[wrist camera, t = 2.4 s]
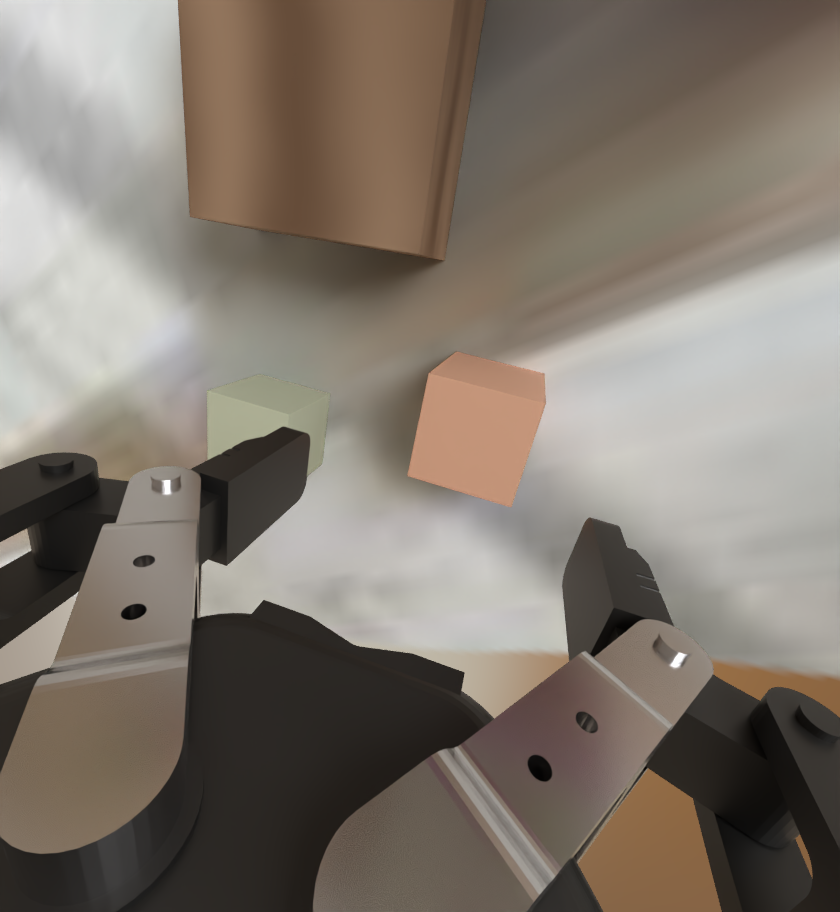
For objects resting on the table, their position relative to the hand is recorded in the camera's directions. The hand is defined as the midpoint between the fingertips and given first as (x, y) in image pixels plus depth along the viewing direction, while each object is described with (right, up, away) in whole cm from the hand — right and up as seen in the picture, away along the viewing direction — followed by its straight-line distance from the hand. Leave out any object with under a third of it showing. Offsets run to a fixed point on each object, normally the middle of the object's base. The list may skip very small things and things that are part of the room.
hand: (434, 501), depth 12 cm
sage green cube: (-8, +4, +14) cm, 16 cm away
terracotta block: (+3, +4, +10) cm, 12 cm away
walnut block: (-3, +16, +7) cm, 18 cm away
